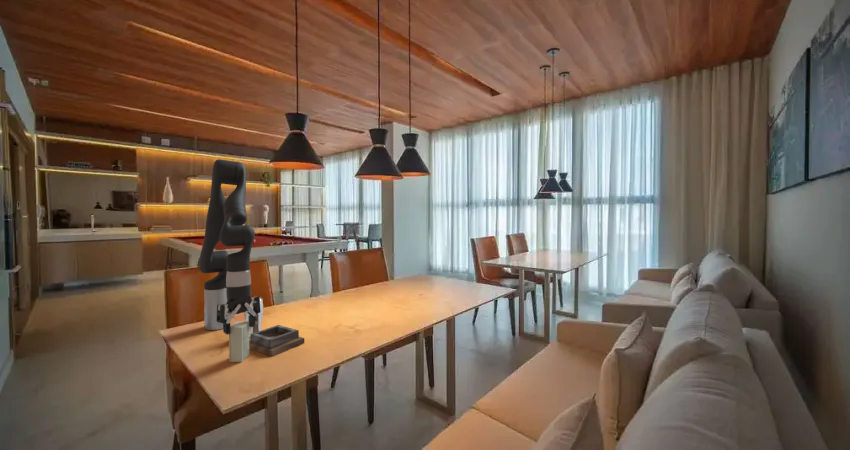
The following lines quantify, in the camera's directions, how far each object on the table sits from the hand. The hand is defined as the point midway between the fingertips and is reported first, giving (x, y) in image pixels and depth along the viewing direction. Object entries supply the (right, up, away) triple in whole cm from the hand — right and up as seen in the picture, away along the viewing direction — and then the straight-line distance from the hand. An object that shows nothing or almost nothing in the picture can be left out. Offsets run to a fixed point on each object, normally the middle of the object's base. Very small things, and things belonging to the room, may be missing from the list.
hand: (239, 330), depth 120 cm
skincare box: (0, -10, +1) cm, 10 cm away
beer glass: (-6, -9, +22) cm, 25 cm away
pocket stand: (+7, -10, +13) cm, 17 cm away
